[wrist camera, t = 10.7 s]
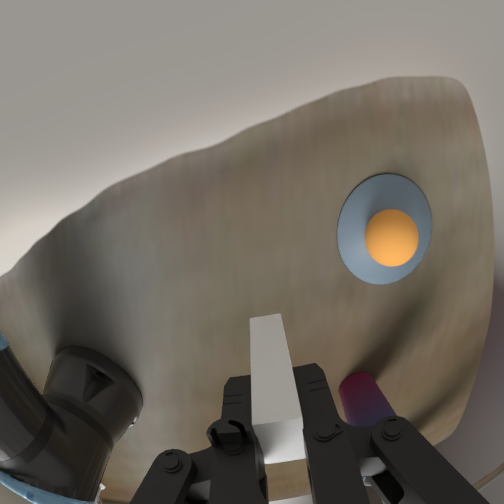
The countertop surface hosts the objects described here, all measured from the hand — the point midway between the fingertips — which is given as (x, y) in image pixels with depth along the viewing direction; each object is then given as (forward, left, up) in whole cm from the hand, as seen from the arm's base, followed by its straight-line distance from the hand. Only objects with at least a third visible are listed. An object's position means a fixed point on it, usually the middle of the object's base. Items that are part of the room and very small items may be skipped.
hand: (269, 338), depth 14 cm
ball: (+13, 0, -12) cm, 17 cm away
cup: (+10, -21, -15) cm, 27 cm away
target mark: (+14, 0, -14) cm, 20 cm away
